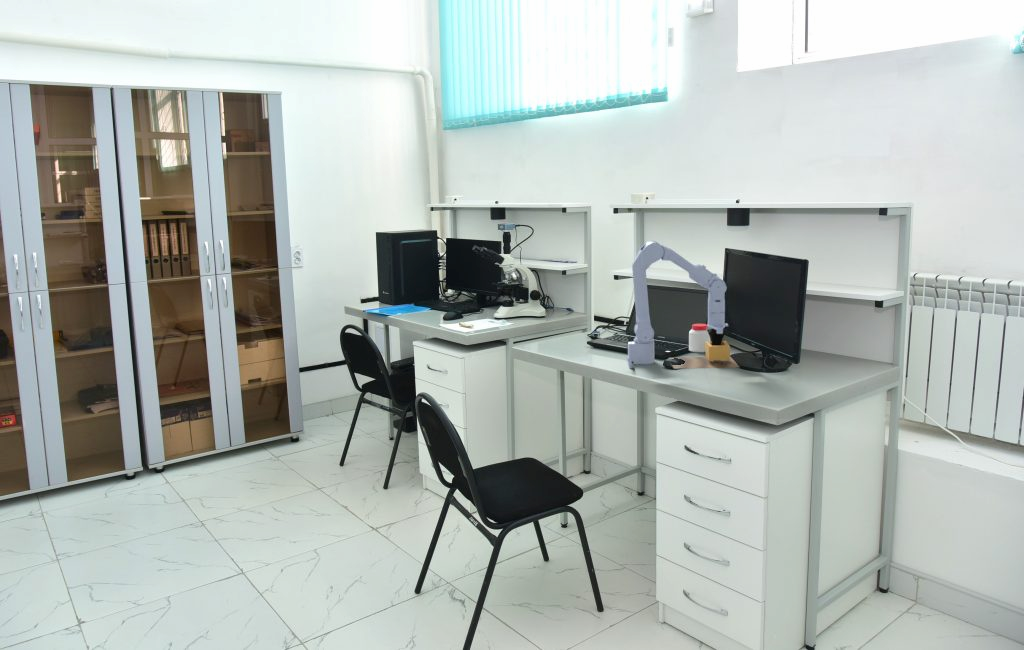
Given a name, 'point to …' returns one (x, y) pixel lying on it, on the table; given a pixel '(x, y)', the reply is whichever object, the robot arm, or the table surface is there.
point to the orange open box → (718, 351)
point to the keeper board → (705, 363)
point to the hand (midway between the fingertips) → (715, 349)
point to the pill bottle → (698, 338)
